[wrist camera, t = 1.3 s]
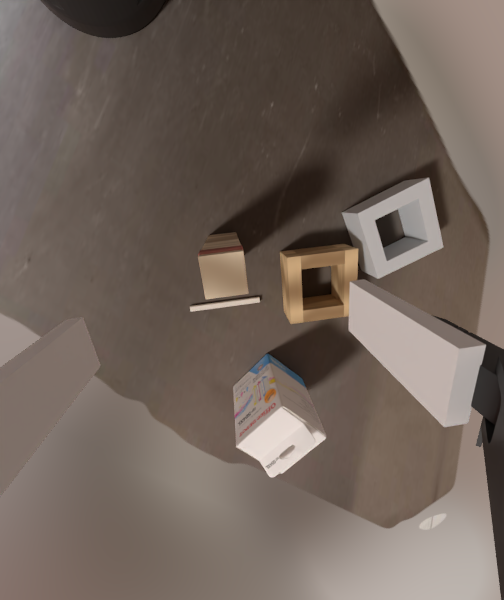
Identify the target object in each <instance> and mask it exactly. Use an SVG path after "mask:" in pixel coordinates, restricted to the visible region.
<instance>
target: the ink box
mask: <svg viewBox="0 0 504 600" xmlns="http://www.w3.org/2000/svg"><path fill="white" fill-rule="evenodd" d="M233 390H234V410H235V429H236V447H237V448H239V449H240V450H242V451H243V452H245V453H247V454H248V455H250V456H252V457H254V458H255V459H257V460H259V461H260V463H261V464H262V466H263V467H264V469H265V470H266V472H267V474H268V475H269V476H270V477H275V476H276V475H277V474H279V473H280V474H282V473H283V472H285V471H286V470H287V469H288V468H290V467H291V466H292V465H293V464H295V463H296V462H297V461H298V460H300V459H301V458H302V457H303V456H305V455H306V454H307V453H308V452H310V451H311V450H312V449H313V448H315V447H316V446H317V445H318V444H320V443H321V442H322V441H323V440H325V439H326V433H325V431H324V429H323V426H322V424H321V422H320V419H319V417H318V415H317V412H316V410H315V408H314V405H313V403H312V401H311V398H310V396H309V393H308V391H307V389H306V386H305V384H304V382H303V379H302V378H301V377H299V376H298V375H297V374H295V373H294V372H293V371H291V370H290V369H289V368H287V367H286V366H285V365H283V364H282V363H281V362H279V361H278V360H277V359H275V358H274V357H272V356H271V355H270V354H266V355H265V356H264V357H263V358H262V359H261V360H260V361H259V362H258V363H257V364H256V365H255V366H254V367H253V368H252V369H251V370H250V371H249V372H247V373H246V374H245V375H244V376H243V377H242V378H241V379H240V380H239V381H238V382H237V383H236V384H235V385H234V387H233Z"/></svg>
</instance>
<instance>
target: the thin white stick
mask: <svg viewBox="0 0 504 600" xmlns="http://www.w3.org/2000/svg"><path fill="white" fill-rule="evenodd" d="M258 302H260V298H259V297H252V298H245V299H237V300H230V301H222V302H215V303H207V304H200V305H193V306H190V311H191V312H192V311H199V310H206V309H214V308H221V307H228V306H236V305H243V304H251V303H258Z"/></svg>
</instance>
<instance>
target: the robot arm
mask: <svg viewBox="0 0 504 600" xmlns="http://www.w3.org/2000/svg"><path fill="white" fill-rule="evenodd" d="M41 1H42V2H43V4H44V5H45V6H46V7H47V8H48V9H49V10H50V11H51V12H53V13H54V14H55V15H56V16H57V17H59V18H60V19H61V20H62V21H64V22H65V23H67V24H68V25H70V26H72V27H73V28H75V29H77V30H79V31H82V32H84V33H87V34H90V35H93V36H97V37H104V38H116V37H122V36H127V35H130V34H132V33H134V32H137V31H138V30H140V29H142V28H143V27H144V26H146V25H147V24H148V23H149V22H150V21H151V20H152V19H153V18H154V17H155V16H156V15H157V13H158V12H159V10H160V9H161V7H162V6H163V4H164V2H165V0H41ZM349 331H350V332H351V333H352V334H353V335H354V336H355V337H356V338H357V339H358V340H359V341H360V342H361V343H362V344H363V345H364V346H365V347H366V348H367V349H368V350H369V351H370V352H371V353H372V354H373V355H374V356H375V357H376V358H377V359H378V360H379V361H380V362H381V364H382V365H383V366H384V367H385V368H386V369H387V370H388V371H389V372H390V373H391V374H392V375H393V376H394V377H395V378H396V379H397V380H398V381H399V382H400V383H401V384H402V385H403V386H404V387H405V388H406V389H407V390H408V391H409V392H410V393H411V394H412V395H413V396H414V397H415V398H416V399H417V400H418V401H419V402H420V403H421V404H422V405H423V406H424V407H425V408H426V409H427V410H428V411H429V412H430V413H431V414H432V415H433V416H434V417H435V418H436V419H437V420H438V421H439V422H440V423H441V424H442V425H443V426H444V427H448V426H454V425H460V424H466V423H468V421H469V417H470V412H471V408H472V407H473V408H474V409H475V410H477V411H478V412H479V413H480V414H481V415H483V420H482V423H481V428H480V431H479V435H478V439H477V444H476V446H479V447H481V445H482V442H483V449H484V457H485V466H486V474H487V482H488V490H489V499H490V507H491V515H492V524H493V533H494V541H495V550H496V558H497V566H498V575H499V583H500V592H501V600H504V349H502V348H500V347H497V346H495V345H494V344H492V343H490V342H488V341H486V340H484V339H482V338H480V337H479V336H477V335H475V334H473V333H469V332H468V331H467V330H465V329H463V328H461V327H458V326H457V325H455V324H454V323H452V322H450V321H448V320H446V319H442V318H439V317H436V316H432V315H430V314H428V313H426V312H424V311H422V310H421V309H419V308H417V307H415V306H413V305H411V304H409V303H407V302H406V301H404V300H402V299H400V298H398V297H396V296H394V295H393V294H391V293H389V292H387V291H385V290H383V289H381V288H380V287H378V286H376V285H374V284H372V283H370V282H368V281H367V280H365V279H363V280H356V281H350V290H349ZM99 368H100V363H99V360H98V357H97V355H96V352H95V349H94V346H93V344H92V341H91V338H90V335H89V333H88V330H87V327H86V324H85V322H84V319H83V317H81V318H73V319H66V320H65V321H64V322H62V323H61V324H59V325H58V326H57V327H55V328H54V329H53V330H51V331H50V332H48V333H47V334H46V335H44V336H43V337H42V338H40V339H39V340H37V341H36V342H35V343H33V344H32V345H31V346H29V347H28V348H27V349H25V350H24V351H22V352H21V353H20V354H18V355H17V356H15V357H14V358H13V359H11V360H10V361H9V362H7V363H6V364H5V365H3V366H2V367H0V497H1V495H2V494H3V493H4V491H5V490H6V489H7V487H8V486H9V485H10V483H11V482H12V481H13V480H14V478H15V477H16V476H17V474H18V473H19V472H20V470H21V469H22V468H23V467H24V465H25V464H26V462H27V461H28V460H29V459H30V457H31V456H32V455H33V454H34V452H35V451H36V450H37V448H38V447H39V446H40V444H41V443H42V441H44V439H45V438H46V437H47V435H48V434H49V433H50V431H51V430H52V429H53V428H54V426H55V425H56V424H57V422H58V421H59V419H60V418H61V417H62V416H63V414H64V413H65V412H66V410H67V409H68V408H69V407H70V405H71V404H72V403H73V401H74V400H75V399H76V398H77V396H78V395H79V393H80V392H81V391H82V390H83V388H84V387H85V386H86V384H87V383H88V382H89V381H90V379H91V378H92V377H93V375H94V374H95V373H96V371H97V370H98V369H99Z"/></svg>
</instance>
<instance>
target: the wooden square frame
mask: <svg viewBox="0 0 504 600" xmlns="http://www.w3.org/2000/svg"><path fill="white" fill-rule="evenodd" d="M280 261H281V275H282V289H283V304H284V312H285V314H286V316H287V318H288V319H289V321H290V323H291V324H295V323H302V322H309V321H316V320H323V319H330V318H337V317H345V316H349V290H350V281H356V280H357V275H358V248H355V247H352V246H349V245H346V244H336V245H328V246H320V247H312V248H304V249H296V250H288V251H280ZM325 266H331V294H329V295H322V296H314V297H307V298H302V275H301V270H302V269H309V268H317V267H325Z"/></svg>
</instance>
